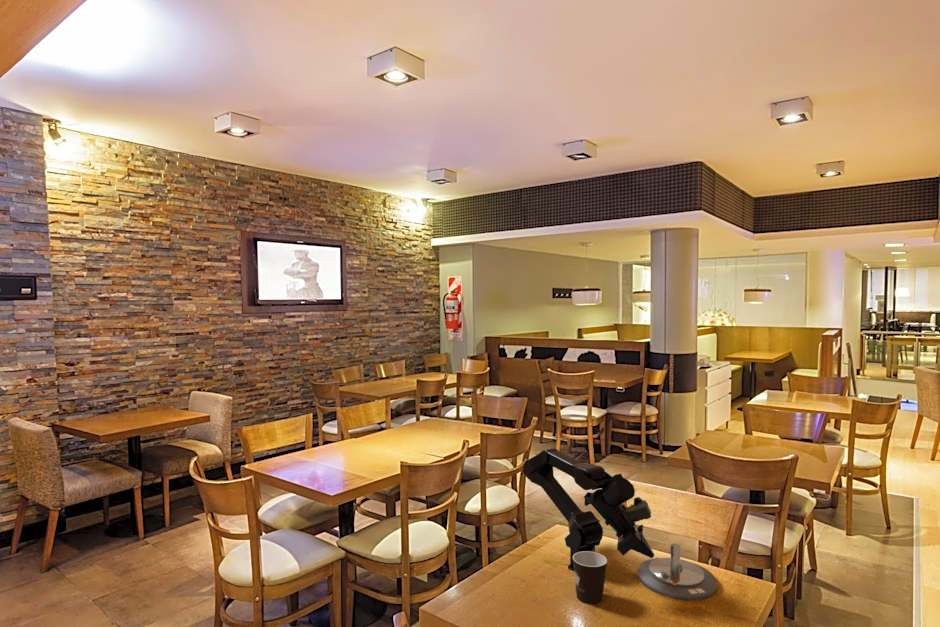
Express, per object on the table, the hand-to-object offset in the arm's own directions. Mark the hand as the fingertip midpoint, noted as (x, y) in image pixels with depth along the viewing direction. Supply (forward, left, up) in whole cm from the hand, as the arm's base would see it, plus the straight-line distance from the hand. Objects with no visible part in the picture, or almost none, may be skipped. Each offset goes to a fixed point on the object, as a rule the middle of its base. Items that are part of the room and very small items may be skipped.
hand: (653, 556), depth 148 cm
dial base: (+4, +7, -8) cm, 12 cm away
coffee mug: (-13, -13, -8) cm, 20 cm away
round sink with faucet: (+5, +6, -6) cm, 10 cm away
